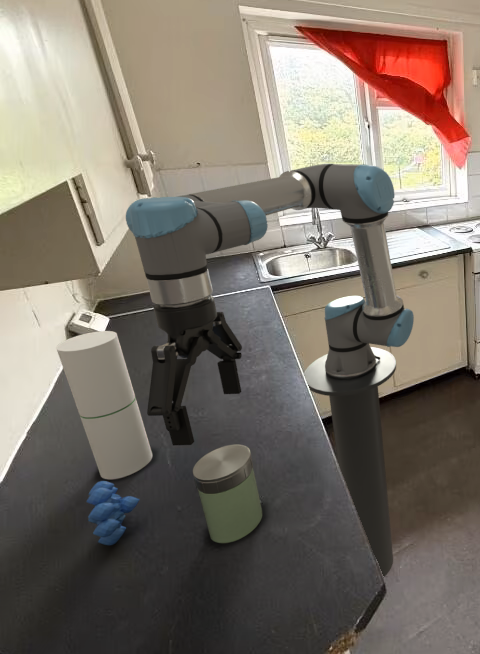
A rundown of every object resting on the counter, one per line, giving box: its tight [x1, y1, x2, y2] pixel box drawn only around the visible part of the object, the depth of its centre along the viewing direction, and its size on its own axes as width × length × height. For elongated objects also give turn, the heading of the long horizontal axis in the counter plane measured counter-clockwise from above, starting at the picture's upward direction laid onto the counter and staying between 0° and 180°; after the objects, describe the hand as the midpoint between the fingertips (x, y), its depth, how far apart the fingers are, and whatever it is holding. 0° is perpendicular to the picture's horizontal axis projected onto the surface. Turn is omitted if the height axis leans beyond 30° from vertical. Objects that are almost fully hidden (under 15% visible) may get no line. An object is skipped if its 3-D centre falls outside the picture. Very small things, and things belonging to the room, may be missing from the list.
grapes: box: [85, 480, 141, 546], centre depth 74 cm, size 12×7×12 cm, turn 42°
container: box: [55, 330, 153, 480], centre depth 87 cm, size 9×9×30 cm
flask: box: [197, 468, 264, 544], centre depth 77 cm, size 8×8×14 cm
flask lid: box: [192, 444, 254, 494], centre depth 75 cm, size 8×8×3 cm
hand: (210, 416), depth 71 cm, fingers open, 13 cm apart
